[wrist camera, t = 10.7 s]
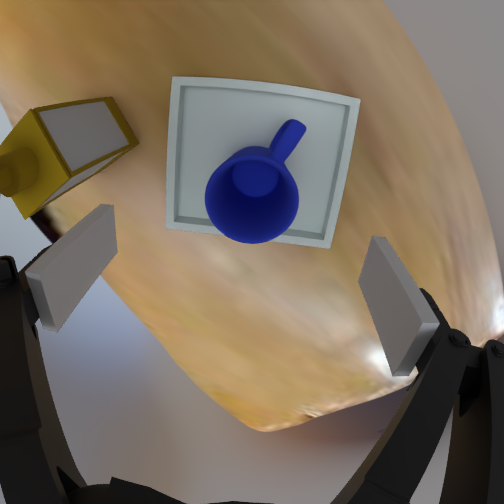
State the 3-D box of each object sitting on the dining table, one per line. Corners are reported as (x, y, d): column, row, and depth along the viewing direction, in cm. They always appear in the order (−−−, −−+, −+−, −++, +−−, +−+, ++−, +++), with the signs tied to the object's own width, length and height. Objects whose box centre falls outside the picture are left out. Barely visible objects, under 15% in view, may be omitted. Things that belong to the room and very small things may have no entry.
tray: (178, 77, 31) (172, 76, 29) (354, 98, 31) (360, 99, 29) (171, 220, 40) (165, 228, 38) (326, 239, 40) (329, 248, 38)
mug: (323, 135, 33) (343, 151, 24) (267, 218, 38) (266, 259, 30) (261, 96, 32) (258, 97, 23) (208, 184, 37) (188, 216, 28)
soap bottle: (93, 64, 30) (-61, 71, 9) (139, 143, 35) (4, 218, 14) (56, 98, 32) (-90, 136, 11) (98, 172, 37) (-30, 262, 16)
